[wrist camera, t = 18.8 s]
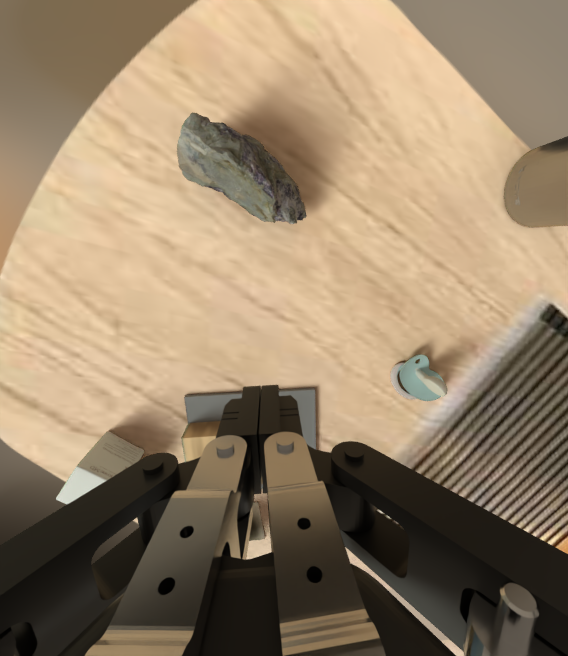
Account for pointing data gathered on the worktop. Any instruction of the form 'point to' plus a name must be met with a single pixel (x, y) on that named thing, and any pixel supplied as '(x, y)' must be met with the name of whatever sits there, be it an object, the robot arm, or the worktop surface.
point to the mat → (213, 404)
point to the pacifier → (418, 380)
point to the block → (198, 438)
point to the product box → (100, 466)
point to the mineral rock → (238, 170)
